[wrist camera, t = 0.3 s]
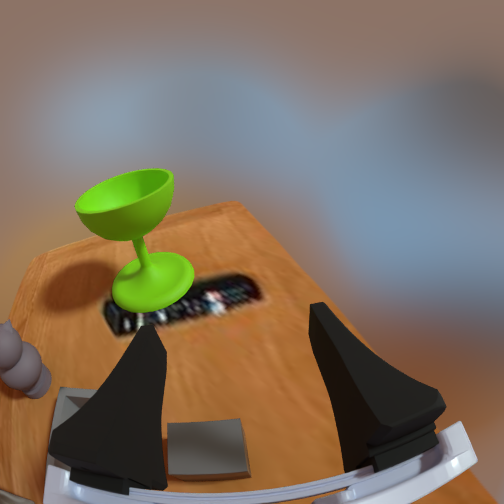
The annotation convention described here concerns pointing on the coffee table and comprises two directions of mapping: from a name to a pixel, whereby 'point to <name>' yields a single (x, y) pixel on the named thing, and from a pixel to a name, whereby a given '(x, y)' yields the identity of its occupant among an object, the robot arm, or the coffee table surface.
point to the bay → (67, 414)
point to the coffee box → (12, 498)
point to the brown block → (207, 451)
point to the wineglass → (137, 237)
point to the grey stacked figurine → (22, 364)
